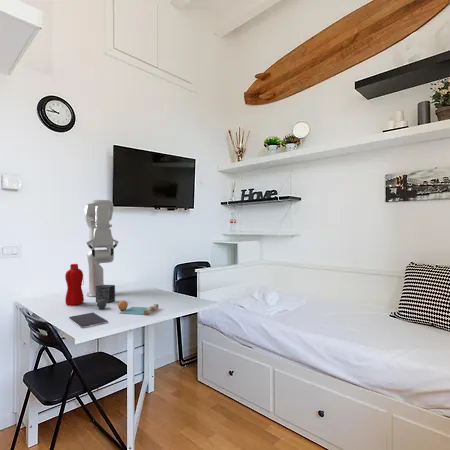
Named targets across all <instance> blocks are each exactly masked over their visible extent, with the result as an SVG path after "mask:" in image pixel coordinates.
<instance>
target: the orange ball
mask: <svg viewBox="0 0 450 450" xmlns="http://www.w3.org/2000/svg"><path fill="white" fill-rule="evenodd" d="M128 303H129V302H127V300H124V299H123V300H120V301H119V302H118V303H117V308H118V309H119V310H120V311H125V310H127V309H128V306H129V304H128Z"/></svg>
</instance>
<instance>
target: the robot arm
mask: <svg viewBox="0 0 450 450" xmlns="http://www.w3.org/2000/svg"><path fill="white" fill-rule="evenodd" d="M113 213H114V203H113V201H112V200H110V199H109V200H108V199H94V200H92V201H91V202H90V203H87V204H86V205H85V208H84V218H85V222H86V225H87V227H88V240H89V241H87V242H86V245H87V246H88V248H89V249H90V250H89V251H88V252H87V254H86V257H87V262H88V263H87V264H88V292H87V293H86V296H87V297H96V286H98V285H105V284H104V268H103V266H101V264H105V263H106V264H108V263H112V262H113V261H114V260H115V259H114V257H115V256H114V255H115V254H114V253H115V251H114V249H115V248H116V247H118V244H119V241H118V240H116V239H114V238H113V237H114V236H113V234H112V230H111V228H112V227H113V225H112V224H110V221H112V218H113ZM97 248H98V249H97ZM100 248H101V249H100ZM102 248H104V249H102Z"/></svg>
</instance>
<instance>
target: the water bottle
mask: <svg viewBox="0 0 450 450" xmlns="http://www.w3.org/2000/svg"><path fill="white" fill-rule="evenodd" d="M69 266H70V269H68V270H67V271H66V273H65V276H64V278H65V281H66V282H65V283H66V286H67V290H66V294H65V299H64V300H65V304H66V305H67V306H78V305H80V304H83V303H84V301H85V299H84V298H85V297H84V292H83V289H82V286H83V285H84V273H83V270H82V269H80V268H79V264H78V263H72V264H70V265H69ZM82 283H83V284H82Z"/></svg>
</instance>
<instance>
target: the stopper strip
mask: <svg viewBox="0 0 450 450" xmlns="http://www.w3.org/2000/svg"><path fill="white" fill-rule="evenodd" d="M158 309H159V304H158V303H155V304H153V305H151V306H149V307H148V308H147V309H146V310H144V314H143V316H149V315H150V314H152V313H153V312H155V311H157V310H158Z"/></svg>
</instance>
